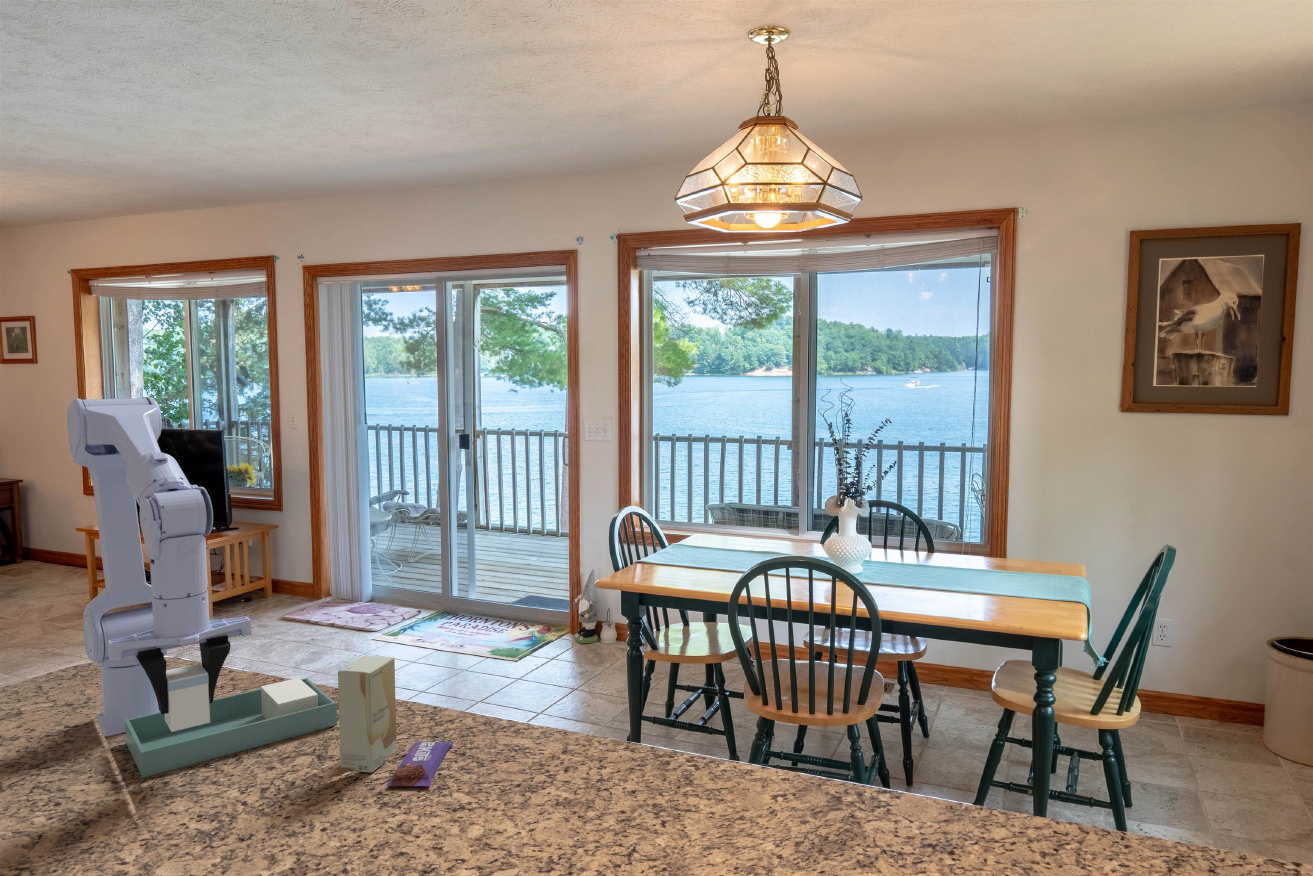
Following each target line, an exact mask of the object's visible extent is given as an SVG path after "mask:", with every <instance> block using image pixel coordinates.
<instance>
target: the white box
mask: <svg viewBox="0 0 1313 876" xmlns="http://www.w3.org/2000/svg"><path fill="white" fill-rule="evenodd" d="M260 689H261V699H262V715H263V716H264V717H265V718H266V719H270V718H274V717H278V716H282V715H286V714H290V713H294V712H298V711H302V710H306V709H310V708H314V707H318V694H317V693H316V692H314V691H313V690H312V689H311V688H310V687H309V686H308V685H306V684H305V683H304V682H303V681H302V680H301V678H300V677H297V678H292V679H288V680H284V681H278V682H275V683H270V684H266V685H261V686H260Z"/></svg>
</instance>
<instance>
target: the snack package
mask: <svg viewBox="0 0 1313 876" xmlns="http://www.w3.org/2000/svg"><path fill="white" fill-rule="evenodd" d="M453 745H454V741H432V742H431V741H430V742H429V741H428V742H427V741H421V742H420V741H417V742H414V743H413V745H412V746H411V747H410V748H409V751H408V752H407V753H406V755H405V756H404V757H403V759H402V761H401V763H400V764H399V765H398V767H397V768H396V770H395V772H394V774H393V776H392V777H391V779H390V780H389V781H388V782H387V784H386V787H430V786H431V785H432V780H433V779H434V776H435V774H436V773H437V771H438V769H439V767H440V766H441V763H442V762H443V760H444V758H445V757H446V754H448V751H449V750H450V748H451V747H452V746H453Z"/></svg>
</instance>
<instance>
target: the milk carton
mask: <svg viewBox="0 0 1313 876" xmlns="http://www.w3.org/2000/svg"><path fill="white" fill-rule="evenodd" d="M208 683H209V678H208V673H207V672H206V670H205V669H204V668H203V666H202V663H195V664H191V665H186V666H181V667H176V668H171V669H166V689H167V697H168V708H169V711H168V713H166V714H165V721H166V723H167V725H168V727H169V729H170V730H171V732H174V731H178V730H182V729H186V728H190V727H194V726H198V725H202V724H206V723H210V710H209V690H208Z"/></svg>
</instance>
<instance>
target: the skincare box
mask: <svg viewBox="0 0 1313 876" xmlns="http://www.w3.org/2000/svg"><path fill="white" fill-rule="evenodd" d="M395 662H396V661H395V657H393V656H379V655H377V656H376V655H363V656H361V657H359V658H357V659H355V660H354V661H352V662H350V663H348V664H347V665H346V666H343V668H340V669H339V670H337V685H338V687H337V689H338V692H337V693H338V720H339V721H338V722H339V725H338V726H339V727H338V728H339V729H338V730H339V731H338V732H339V757H340V758H339V760H340V761H339V764H340V766H339V767H340V768H342V769H350V771H351V772H358V773H359V772H360V773H373V772H375V771H376V770H377V769H379V767H381V766H382V765H383V764H384V763H386V762H387V761H388V760H389V759H388V758H389V757H390V756H391V755H392V754H393V753H394V752H395V751H396V750H397V748H398V747H397V746H398V745H397V744H398V741H397V739H398V737H397V707H396V706H397V704H396V701H397V700H396V699H397V698H396V672H395V670H396V668H395Z"/></svg>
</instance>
